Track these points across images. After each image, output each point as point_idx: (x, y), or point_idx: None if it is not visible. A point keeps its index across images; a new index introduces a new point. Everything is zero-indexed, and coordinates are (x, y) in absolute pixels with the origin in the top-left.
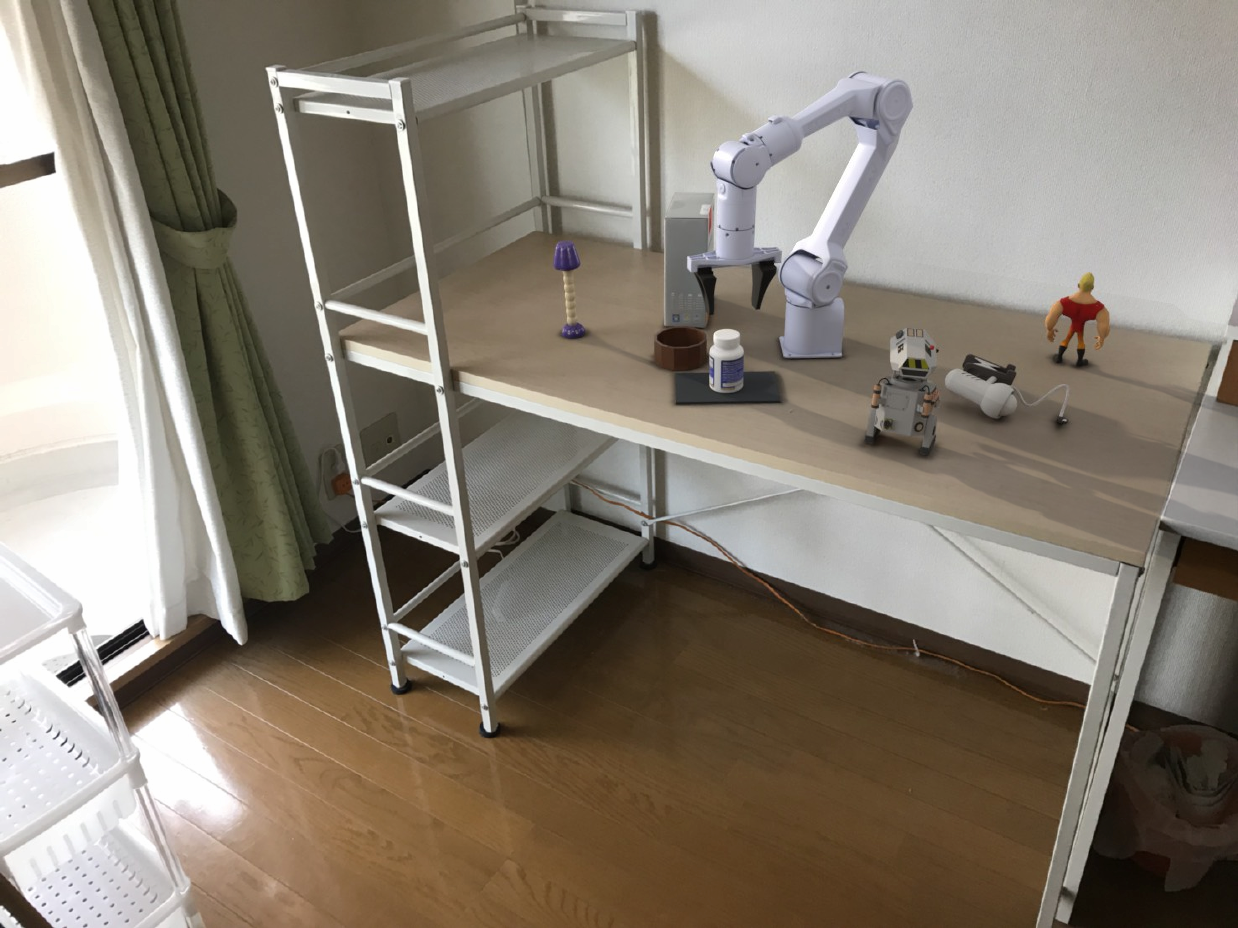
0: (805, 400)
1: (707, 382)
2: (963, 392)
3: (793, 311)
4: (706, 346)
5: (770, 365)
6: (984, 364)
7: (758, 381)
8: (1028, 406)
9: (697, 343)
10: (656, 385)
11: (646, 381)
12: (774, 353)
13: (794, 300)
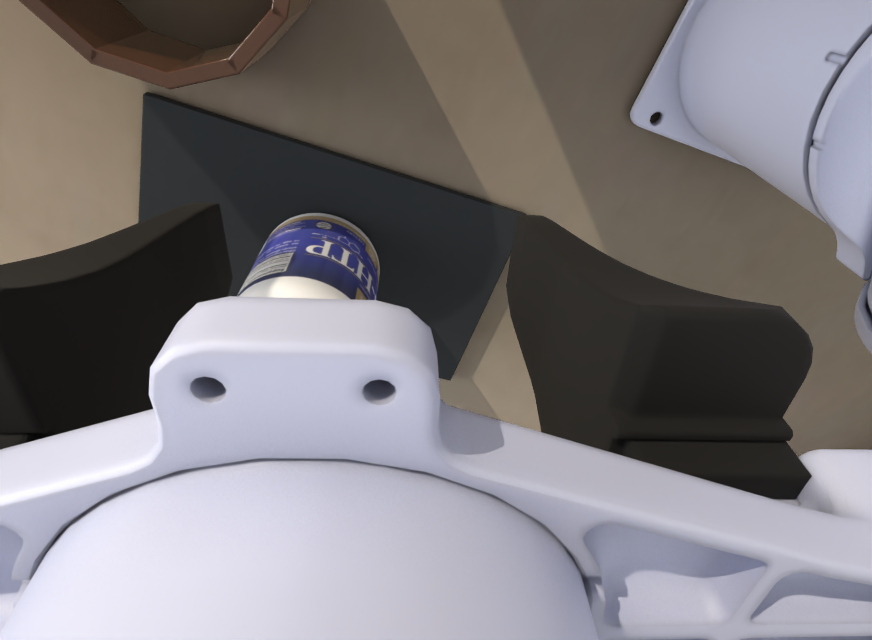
0: (518, 382)
1: (264, 217)
2: None
3: (783, 154)
4: (293, 16)
5: (548, 146)
6: None
7: (439, 267)
8: None
9: None
10: (68, 150)
11: (21, 101)
12: (627, 40)
13: (840, 156)
